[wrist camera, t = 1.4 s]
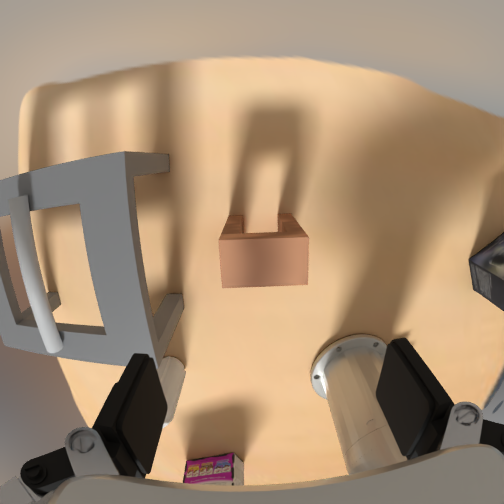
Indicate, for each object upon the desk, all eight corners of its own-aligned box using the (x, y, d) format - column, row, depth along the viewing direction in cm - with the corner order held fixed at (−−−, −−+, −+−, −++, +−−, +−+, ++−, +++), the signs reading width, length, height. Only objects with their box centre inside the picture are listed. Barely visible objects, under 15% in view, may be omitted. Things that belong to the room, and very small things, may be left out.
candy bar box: (198, 470, 49) (190, 533, 33) (185, 459, 48) (174, 525, 32) (246, 462, 48) (245, 530, 32) (234, 451, 46) (231, 523, 31)
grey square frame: (168, 154, 31) (112, 150, 17) (184, 307, 37) (153, 382, 23) (28, 179, 31) (-46, 195, 18) (51, 303, 37) (-4, 353, 23)
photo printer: (145, 393, 42) (123, 450, 30) (127, 375, 41) (99, 431, 29) (191, 370, 40) (175, 434, 28) (171, 350, 39) (148, 412, 27)
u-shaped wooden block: (290, 213, 33) (308, 237, 23) (290, 247, 35) (307, 284, 24) (228, 215, 33) (218, 240, 23) (230, 249, 35) (222, 287, 24)
